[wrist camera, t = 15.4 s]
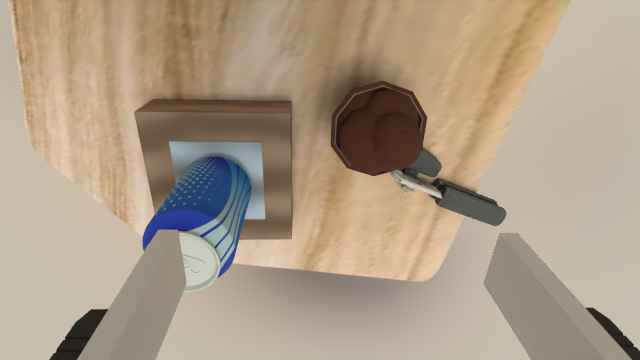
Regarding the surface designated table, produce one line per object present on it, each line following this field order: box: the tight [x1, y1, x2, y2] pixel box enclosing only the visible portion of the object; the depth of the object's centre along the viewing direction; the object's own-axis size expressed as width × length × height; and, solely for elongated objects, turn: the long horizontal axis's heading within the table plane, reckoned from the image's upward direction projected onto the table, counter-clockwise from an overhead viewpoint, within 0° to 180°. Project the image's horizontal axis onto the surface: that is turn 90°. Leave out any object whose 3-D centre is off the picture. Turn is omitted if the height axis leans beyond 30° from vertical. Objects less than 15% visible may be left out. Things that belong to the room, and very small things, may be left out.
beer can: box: [143, 156, 251, 292], centre depth 39 cm, size 8×8×16 cm
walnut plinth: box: [134, 99, 293, 240], centre depth 49 cm, size 18×18×6 cm
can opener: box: [390, 149, 506, 226], centre depth 53 cm, size 19×6×5 cm, turn 63°
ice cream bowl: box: [331, 81, 427, 176], centre depth 42 cm, size 11×11×15 cm
